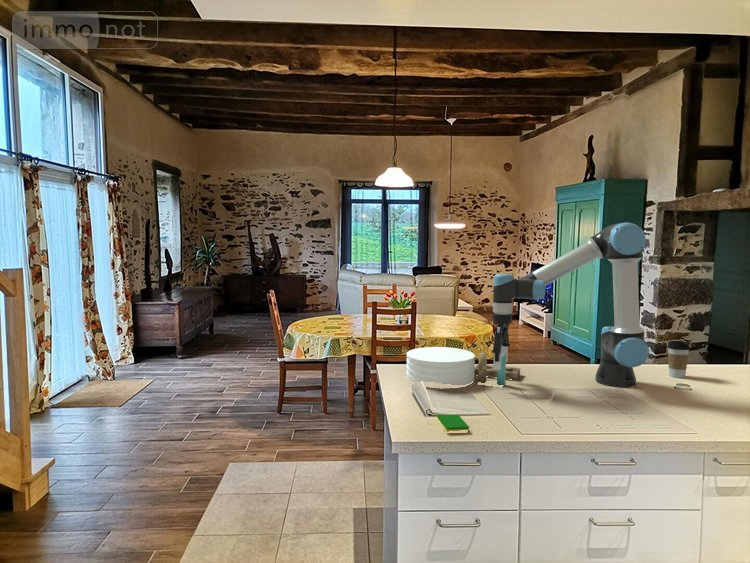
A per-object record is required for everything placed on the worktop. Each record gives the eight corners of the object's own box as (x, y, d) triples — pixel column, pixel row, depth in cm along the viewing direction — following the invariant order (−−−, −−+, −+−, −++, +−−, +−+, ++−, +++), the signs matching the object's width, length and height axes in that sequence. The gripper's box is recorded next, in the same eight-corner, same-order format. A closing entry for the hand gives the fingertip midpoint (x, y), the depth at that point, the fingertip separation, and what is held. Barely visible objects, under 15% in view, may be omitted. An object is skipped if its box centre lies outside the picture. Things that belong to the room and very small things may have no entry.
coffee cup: (668, 378, 217) (670, 343, 215) (663, 373, 225) (665, 339, 223) (691, 379, 214) (692, 344, 213) (685, 374, 222) (687, 340, 221)
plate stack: (397, 374, 223) (397, 348, 222) (457, 370, 230) (457, 345, 229) (420, 393, 196) (420, 364, 195) (486, 387, 203) (487, 359, 202)
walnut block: (520, 376, 220) (520, 368, 219) (516, 382, 211) (516, 373, 210) (478, 371, 227) (478, 363, 227) (472, 377, 218) (473, 369, 218)
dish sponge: (455, 418, 169) (455, 411, 169) (469, 434, 155) (469, 426, 155) (434, 419, 168) (434, 412, 168) (446, 435, 154) (446, 427, 154)
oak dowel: (487, 382, 209) (487, 353, 208) (485, 384, 206) (485, 354, 205) (479, 381, 210) (479, 352, 209) (477, 383, 207) (477, 354, 206)
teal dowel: (505, 384, 206) (506, 354, 205) (504, 386, 203) (504, 356, 202) (497, 383, 207) (498, 354, 206) (496, 385, 204) (496, 355, 203)
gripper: (499, 308, 215) (497, 358, 217) (485, 316, 193) (484, 371, 195) (517, 309, 212) (515, 360, 214) (505, 317, 190) (504, 374, 191)
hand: (500, 365), depth 204 cm, fingers open, 13 cm apart
